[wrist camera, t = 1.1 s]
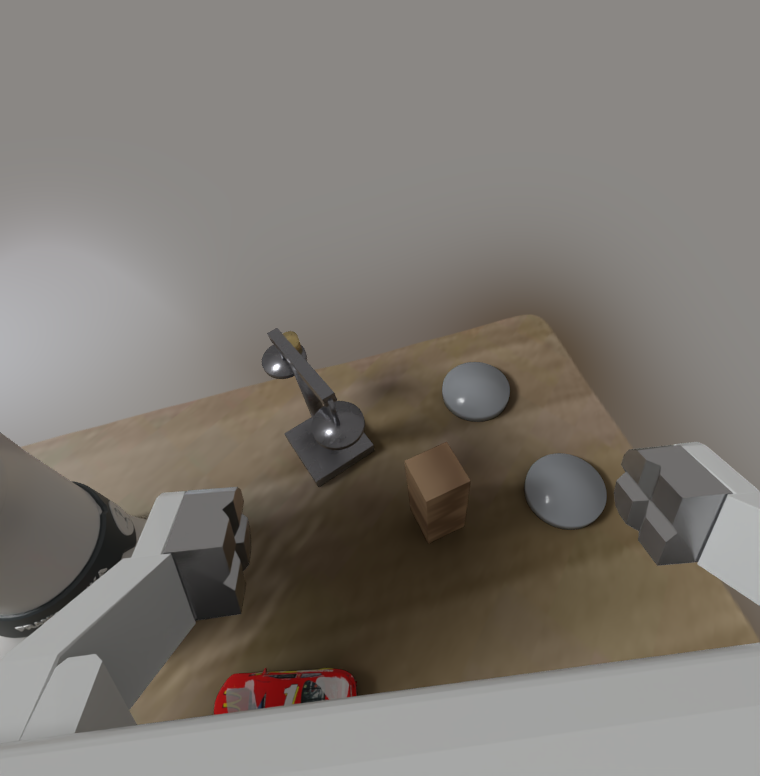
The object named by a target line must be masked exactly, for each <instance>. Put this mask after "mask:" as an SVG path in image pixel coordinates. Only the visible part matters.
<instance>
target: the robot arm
mask: <svg viewBox="0 0 760 776" xmlns="http://www.w3.org/2000/svg"><path fill="white" fill-rule="evenodd" d="M621 465H622V467H623V469H624V470H625V473H624V474H623V475H622V476H621V477H620V478H619V479H618V480H617V481H616V485H615V490H614V498H615V505H616V508H617V510H618V512H619V515H620V516H621V518H622V519H623V520H624V522H625V523H626V524H627V525H629V526H631V527H632V528H634V529H636V530H638V531H639V537H638V541H639V542H640V543H641V545H642V546H643V547H644V549H645V550H646V551H647V553H648V554H649V555H650V557H651V558H652V559H653V560H654V562H655V563H656V564H657V566H658V565H669V564H681V563H692V562H698V565H699V566H701V567H702V568H704V569H705V570H707V571H708V572H710V573H711V574H713V575H714V576H716V577H717V578H719V579H720V580H722V581H723V582H725V583H726V584H728V585H729V586H731V587H732V588H734V589H735V590H737V591H738V592H740V593H741V594H743V595H744V596H746V597H748V598H749V599H750V600H752V601H753V602H755V603H756V604H758V605H759V606H760V491H759V490H758V489H756V488H755V487H754V486H753V485H752V484H751V483H750V482H748V481H747V480H746V479H745V478H744V477H742V476H741V475H740V474H739V473H738V472H737V471H735V470H734V469H733V468H732V467H731V466H729V465H728V464H727V463H726V462H725V461H724V460H723V459H721V458H720V457H719V456H718V455H717V454H715V453H714V452H713V451H712V450H711V449H710V448H708V447H707V446H706V445H704V444H702V443H699V442H692V443H682V444H674V445H668V446H659V447H649V448H639V449H629V450H628V451H627V452H626V453H625V455H624V457H623V460H622V463H621ZM243 504H244V500H243V496H242V492H241V489H240V488H238V487H230V488H216V489H203V490H189V491H181V492H168V493H162V494H160V495H159V496H158V497H157V498H156V501H155V503H154V505H153V508H152V510H151V512H150V515H149V517H148V519H143V518H138V517H134V516H131V515H129V514H127V513H126V512H125V511H124V510H123V509H122V508H121V507H119V506H118V505H117V504H116V503H114V502H113V501H110V500H109V499H107V498H106V497H104V496H103V495H101V494H100V493H98V492H96V491H95V490H93V489H91V488H90V487H88V486H86V485H84V484H81V483H78V482H72V481H70V480H69V479H67V478H66V477H64V476H63V475H61V474H59V473H58V472H56V471H55V470H53V469H52V468H50V467H49V466H47V465H46V464H44V463H43V462H41V461H40V460H38V459H37V458H35V457H34V456H32V455H31V454H29V453H28V452H26V451H25V450H23V449H22V448H21V447H19V446H18V445H17V444H15V443H14V442H13V441H11V440H10V439H9V438H7V437H6V436H4V435H3V434H2V433H0V776H760V643H754V644H746V645H739V646H731V647H724V648H716V649H709V650H701V651H694V652H686V653H678V654H671V655H663V656H656V657H648V658H641V659H633V660H626V661H618V662H611V663H603V664H596V665H588V666H581V667H573V668H566V669H558V670H551V671H543V672H536V673H528V674H521V675H513V676H506V677H498V678H491V679H483V680H475V681H468V682H460V683H452V684H445V685H437V686H429V687H422V688H414V689H407V690H399V691H391V692H384V693H376V694H368V695H361V696H353V697H346V698H338V699H330V700H323V701H315V702H307V703H300V704H292V705H285V706H277V707H270V708H262V709H255V710H247V711H239V712H232V713H224V714H217V715H209V716H202V717H194V718H187V719H179V720H172V721H164V722H156V723H149V724H141V725H137V724H136V722H135V720H134V718H133V717H132V715H131V713H130V711H129V710H130V708H131V707H132V706H133V704H134V703H135V702H136V701H137V699H138V698H139V697H140V695H141V694H142V693H143V691H144V690H145V689H146V687H147V686H148V685H149V684H150V682H151V681H152V680H153V678H154V677H155V676H156V674H157V673H158V672H159V671H160V669H161V668H162V667H163V665H164V664H165V663H166V661H167V660H168V659H169V658H170V656H171V655H172V654H173V652H174V651H175V650H176V648H177V647H178V646H179V644H180V643H181V642H182V641H183V639H184V638H185V637H186V635H187V634H188V633H189V631H190V630H191V629H192V628H193V626H194V625H195V624H196V623H195V621H196V620H203V619H210V618H217V617H224V616H231V615H238V614H241V612H242V606H243V600H244V594H245V588H246V582H245V577H244V573H243V571H244V570H245V569H246V568H247V567H248V565H249V562H250V554H251V534H250V526H249V522H248V518H247V517H246V516H244V515H243V514H242V510H243Z"/></svg>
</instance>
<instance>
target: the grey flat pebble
mask: <svg viewBox="0 0 760 776" xmlns="http://www.w3.org/2000/svg"><path fill="white" fill-rule="evenodd" d="M509 394H510V387H509V383H508V381H507V379H506V377H505V376H504V374H503V373H502V372H501V371H499V370H498V369H497V368H495V367H493V366H491V365H488V364H485V363H480V362H469V363H464V364H461V365H459V366H457V367H455V368H453V369H452V370H451V371H450V372H449V373H448V374H447V375H446V377H445V379H444V381H443V388H442V395H443V400H444V403H445V405H446V407H447V408H448V409H449V410H450V411H451V412H452V413H453V414H454V415H456V416H457V417H459V418H461V419H464V420H467V421H474V422H480V421H487V420H490V419H492V418H494V417H496V416H498V415H499V414H500V413H501V412H502V411H503V410H504V409H505V407H506V405H507V403H508V399H509Z"/></svg>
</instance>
